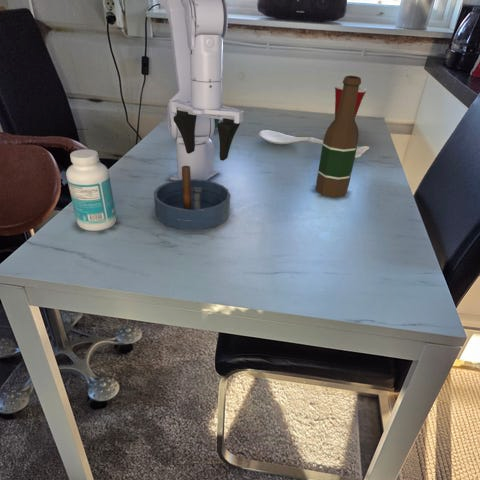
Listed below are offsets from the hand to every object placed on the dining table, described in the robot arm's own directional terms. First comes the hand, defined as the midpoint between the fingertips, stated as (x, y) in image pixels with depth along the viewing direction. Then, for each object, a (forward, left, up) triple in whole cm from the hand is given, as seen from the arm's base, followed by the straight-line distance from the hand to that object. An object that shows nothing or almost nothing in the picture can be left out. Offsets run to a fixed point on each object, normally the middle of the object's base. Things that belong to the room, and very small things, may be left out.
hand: (206, 155), depth 86 cm
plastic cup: (-79, +10, -11) cm, 81 cm away
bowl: (+6, 0, -10) cm, 12 cm away
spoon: (-47, +8, -11) cm, 49 cm away
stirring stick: (+8, 0, -10) cm, 13 cm away
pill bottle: (+19, -14, -11) cm, 26 cm away
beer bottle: (-21, +22, -11) cm, 32 cm away
